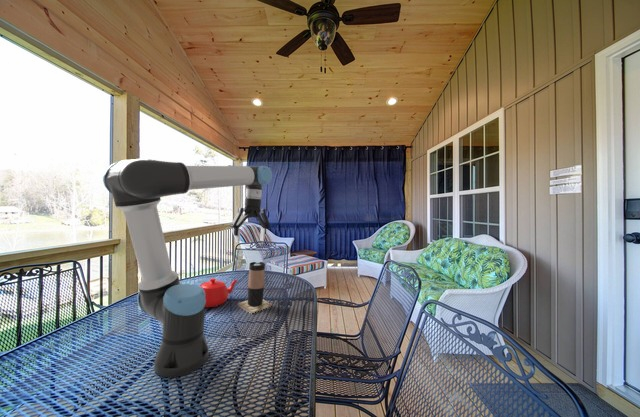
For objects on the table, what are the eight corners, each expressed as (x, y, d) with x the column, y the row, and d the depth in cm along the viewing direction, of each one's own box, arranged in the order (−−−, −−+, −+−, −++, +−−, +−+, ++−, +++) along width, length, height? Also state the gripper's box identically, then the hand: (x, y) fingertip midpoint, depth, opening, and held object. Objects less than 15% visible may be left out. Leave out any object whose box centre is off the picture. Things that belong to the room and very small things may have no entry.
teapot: (190, 315, 105) (191, 288, 104) (181, 303, 116) (182, 278, 116) (243, 302, 121) (245, 278, 121) (231, 292, 133) (232, 270, 133)
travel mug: (254, 308, 112) (256, 266, 112) (243, 303, 116) (246, 263, 116) (266, 302, 119) (268, 263, 118) (255, 298, 123) (257, 260, 122)
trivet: (251, 314, 109) (251, 311, 109) (237, 305, 117) (238, 302, 117) (272, 306, 118) (272, 303, 118) (258, 299, 126) (258, 296, 126)
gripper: (232, 196, 102) (229, 244, 103) (278, 200, 121) (275, 241, 121) (224, 196, 107) (221, 242, 108) (269, 199, 126) (267, 239, 126)
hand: (250, 241), depth 114 cm, fingers open, 13 cm apart
